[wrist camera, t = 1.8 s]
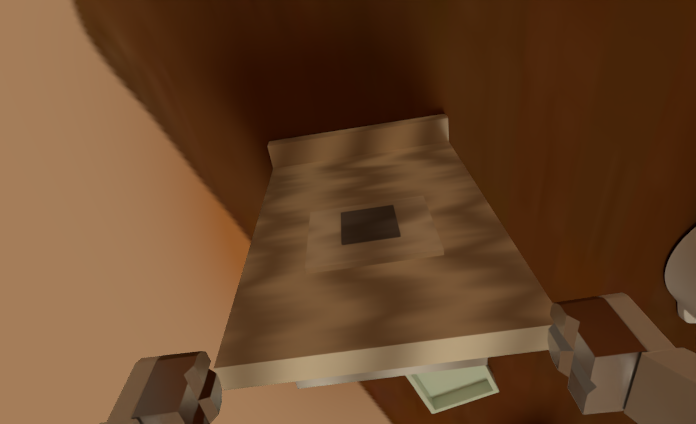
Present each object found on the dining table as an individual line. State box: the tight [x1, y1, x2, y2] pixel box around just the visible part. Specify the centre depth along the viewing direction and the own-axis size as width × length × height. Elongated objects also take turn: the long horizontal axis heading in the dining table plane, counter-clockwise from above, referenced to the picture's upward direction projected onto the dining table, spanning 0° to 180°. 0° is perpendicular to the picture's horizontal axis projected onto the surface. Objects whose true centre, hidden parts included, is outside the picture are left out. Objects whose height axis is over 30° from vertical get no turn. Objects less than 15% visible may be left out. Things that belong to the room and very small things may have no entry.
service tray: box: [406, 365, 499, 414], centre depth 54 cm, size 9×9×2 cm
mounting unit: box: [214, 114, 554, 390], centre depth 30 cm, size 16×10×23 cm, turn 99°
